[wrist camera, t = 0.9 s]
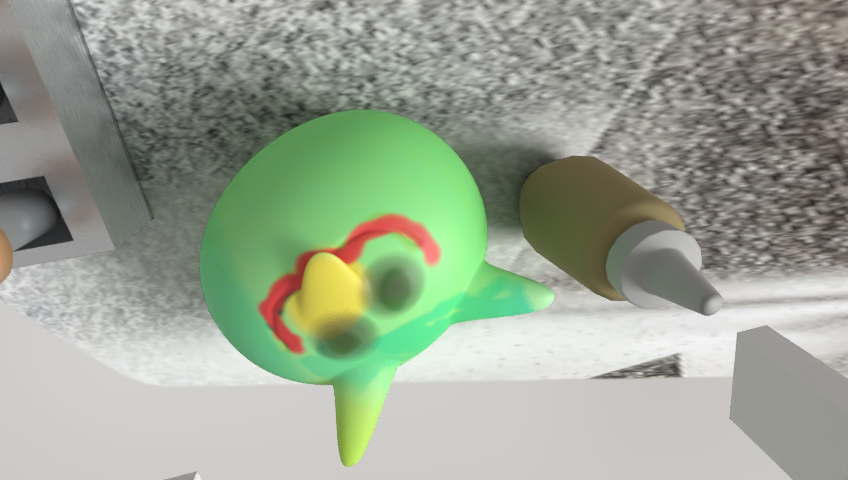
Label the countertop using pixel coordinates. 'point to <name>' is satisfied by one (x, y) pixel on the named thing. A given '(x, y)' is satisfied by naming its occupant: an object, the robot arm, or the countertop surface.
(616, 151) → the countertop surface
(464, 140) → the countertop surface
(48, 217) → the knob
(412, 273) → the toy bird
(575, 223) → the squeeze bottle
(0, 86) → the knob middle
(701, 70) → the countertop surface
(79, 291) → the countertop surface
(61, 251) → the mount
